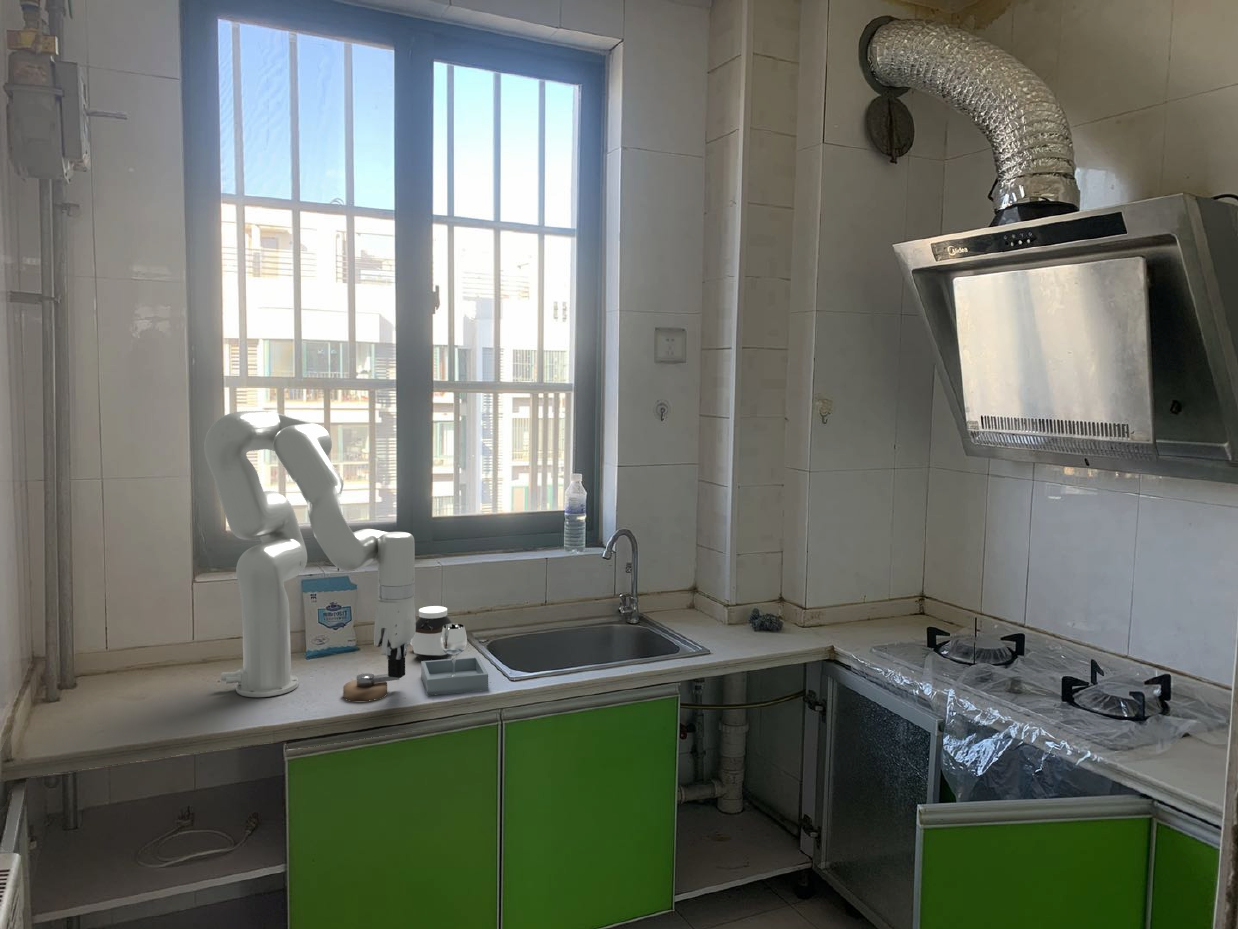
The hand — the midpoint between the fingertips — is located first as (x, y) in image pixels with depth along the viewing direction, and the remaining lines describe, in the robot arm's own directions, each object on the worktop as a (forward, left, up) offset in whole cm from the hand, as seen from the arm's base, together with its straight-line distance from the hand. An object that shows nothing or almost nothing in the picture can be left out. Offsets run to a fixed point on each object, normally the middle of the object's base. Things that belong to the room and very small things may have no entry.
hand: (396, 676), depth 185 cm
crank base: (-6, +3, -4) cm, 8 cm away
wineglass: (+13, +5, -4) cm, 14 cm away
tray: (+13, +5, -4) cm, 14 cm away
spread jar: (+10, +28, -5) cm, 30 cm away
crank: (-3, +3, -2) cm, 5 cm away
